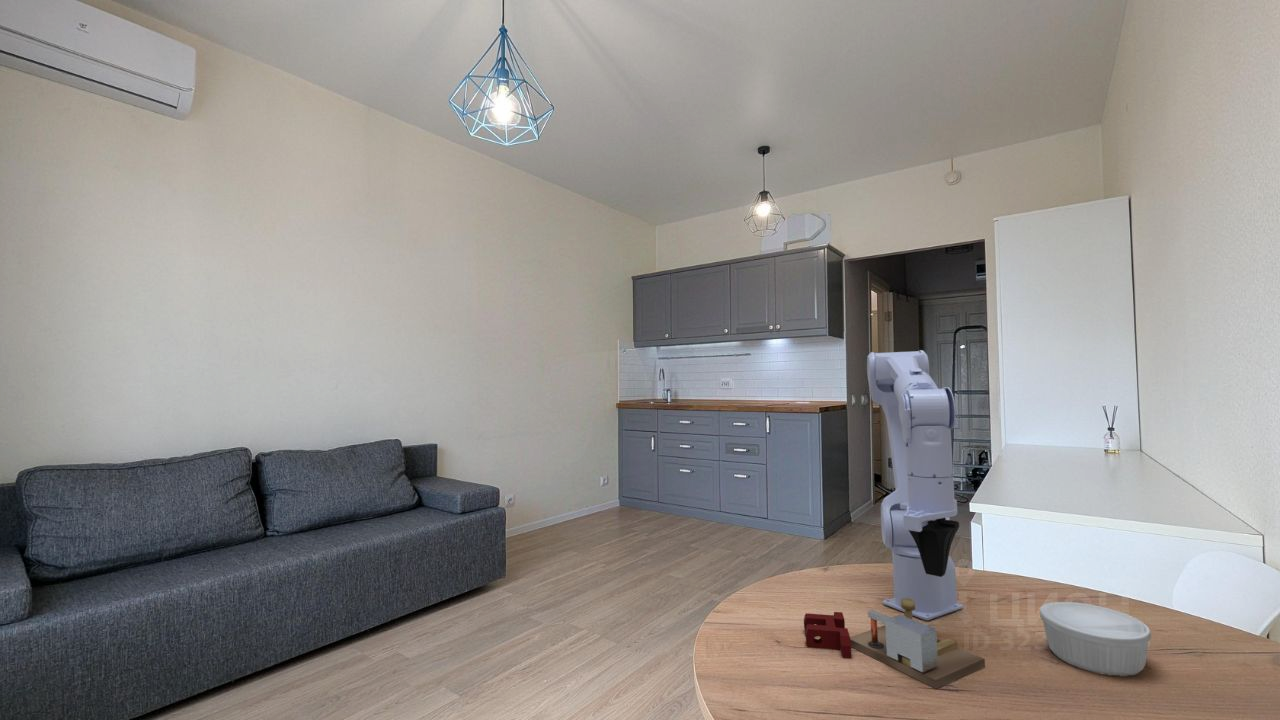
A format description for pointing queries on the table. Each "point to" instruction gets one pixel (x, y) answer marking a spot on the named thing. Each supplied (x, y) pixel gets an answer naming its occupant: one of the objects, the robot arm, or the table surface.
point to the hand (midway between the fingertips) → (935, 574)
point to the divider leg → (907, 640)
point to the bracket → (827, 632)
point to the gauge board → (949, 659)
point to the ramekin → (1096, 637)
